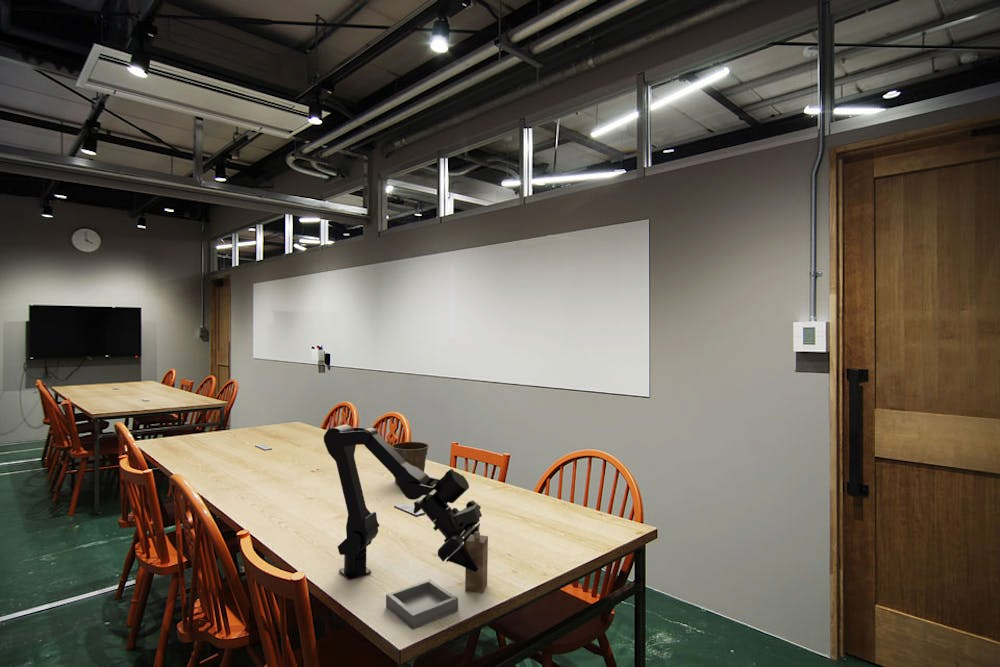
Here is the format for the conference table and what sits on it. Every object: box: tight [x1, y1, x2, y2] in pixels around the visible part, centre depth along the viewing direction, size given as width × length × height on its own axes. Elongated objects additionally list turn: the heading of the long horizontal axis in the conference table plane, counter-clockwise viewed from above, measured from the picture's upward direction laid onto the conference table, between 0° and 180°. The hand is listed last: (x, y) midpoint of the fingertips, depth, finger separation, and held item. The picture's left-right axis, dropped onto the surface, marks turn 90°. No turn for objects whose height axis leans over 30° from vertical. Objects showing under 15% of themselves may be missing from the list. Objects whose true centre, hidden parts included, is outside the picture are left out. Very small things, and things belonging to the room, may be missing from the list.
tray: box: [385, 578, 459, 631], centre depth 118 cm, size 12×12×3 cm
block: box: [464, 531, 489, 594], centre depth 128 cm, size 4×4×14 cm
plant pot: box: [390, 441, 430, 484], centre depth 223 cm, size 16×16×16 cm
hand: (482, 562), depth 128 cm, fingers open, 9 cm apart
